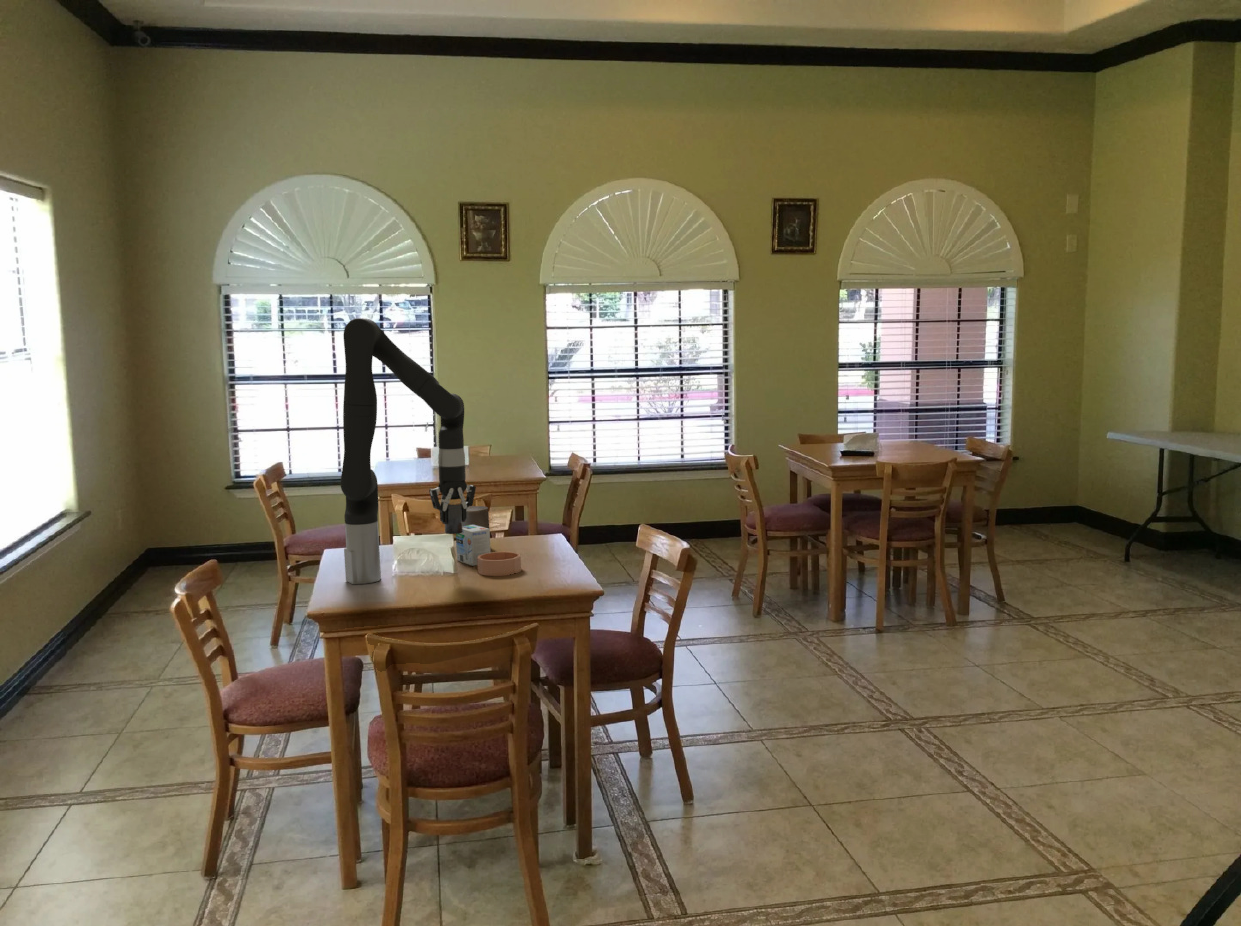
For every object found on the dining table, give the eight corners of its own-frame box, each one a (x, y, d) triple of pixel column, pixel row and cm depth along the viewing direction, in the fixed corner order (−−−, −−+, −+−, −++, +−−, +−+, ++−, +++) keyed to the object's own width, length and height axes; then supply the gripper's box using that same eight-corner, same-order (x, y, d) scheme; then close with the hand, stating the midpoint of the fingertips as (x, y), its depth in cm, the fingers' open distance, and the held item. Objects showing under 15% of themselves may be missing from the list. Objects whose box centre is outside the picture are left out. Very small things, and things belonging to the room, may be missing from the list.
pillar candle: (495, 546, 338) (493, 502, 336) (482, 552, 328) (480, 506, 327) (468, 546, 340) (466, 502, 339) (455, 551, 331) (453, 506, 330)
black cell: (449, 534, 289) (448, 500, 287) (442, 532, 293) (441, 497, 291) (465, 532, 291) (464, 498, 290) (458, 530, 295) (457, 496, 294)
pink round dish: (490, 577, 293) (489, 562, 292) (470, 570, 303) (470, 555, 303) (528, 571, 300) (528, 556, 299) (508, 564, 310) (507, 549, 310)
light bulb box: (456, 560, 318) (454, 526, 316) (475, 557, 322) (473, 524, 320) (472, 566, 309) (471, 531, 308) (492, 562, 313) (490, 528, 312)
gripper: (434, 467, 283) (436, 527, 285) (480, 463, 291) (481, 521, 293) (423, 464, 289) (425, 523, 291) (468, 460, 297) (470, 518, 299)
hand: (453, 522), depth 292 cm, fingers closed on black cell, 5 cm apart
